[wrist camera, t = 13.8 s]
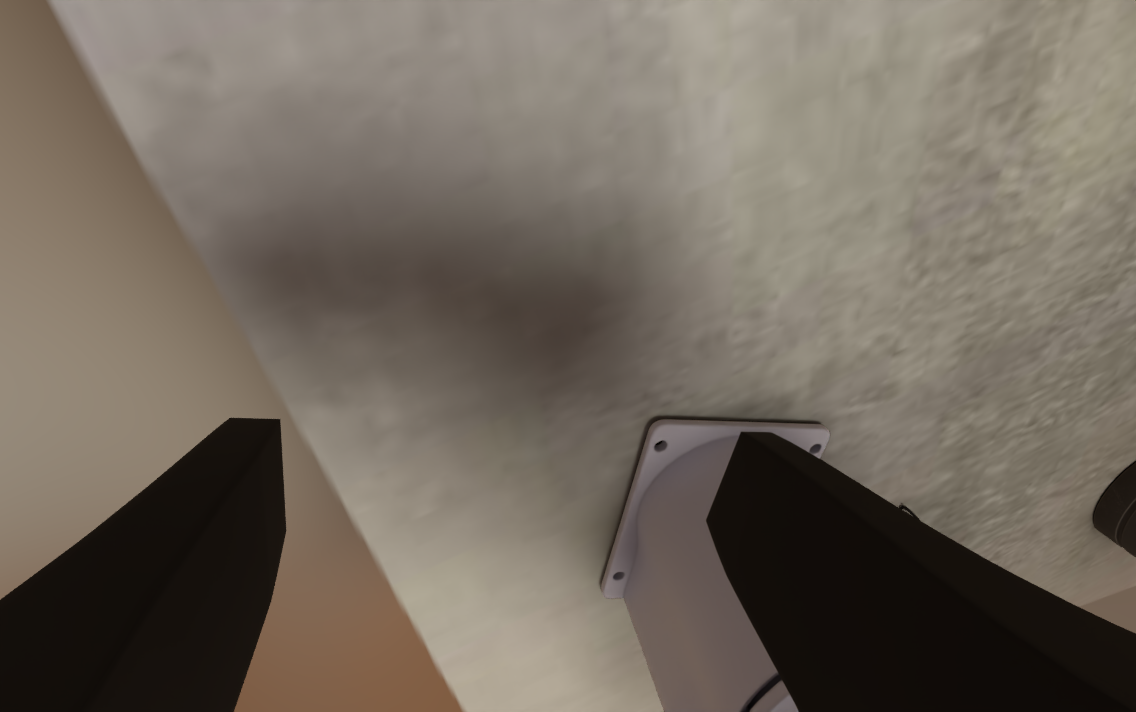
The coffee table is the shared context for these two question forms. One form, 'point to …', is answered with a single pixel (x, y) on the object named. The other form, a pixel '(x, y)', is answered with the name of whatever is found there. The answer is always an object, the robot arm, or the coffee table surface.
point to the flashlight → (1119, 511)
